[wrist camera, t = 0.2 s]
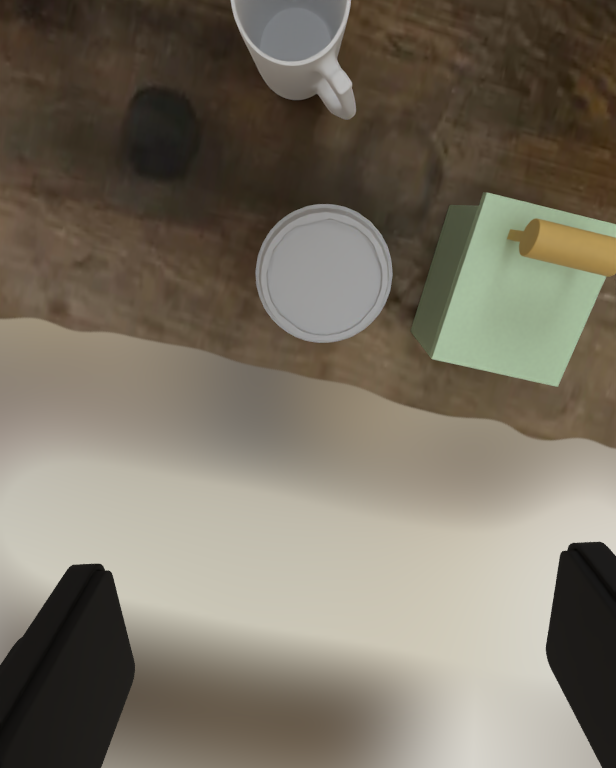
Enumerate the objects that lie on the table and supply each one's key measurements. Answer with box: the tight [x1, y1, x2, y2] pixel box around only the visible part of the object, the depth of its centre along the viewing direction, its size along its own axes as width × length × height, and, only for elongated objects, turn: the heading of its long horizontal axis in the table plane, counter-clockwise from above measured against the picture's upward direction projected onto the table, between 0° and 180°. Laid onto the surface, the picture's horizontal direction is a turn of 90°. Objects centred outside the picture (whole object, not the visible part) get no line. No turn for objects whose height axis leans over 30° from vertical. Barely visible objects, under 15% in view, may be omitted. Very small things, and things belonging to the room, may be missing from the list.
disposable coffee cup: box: [256, 204, 393, 343], centre depth 38 cm, size 10×10×12 cm
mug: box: [231, 0, 356, 120], centre depth 33 cm, size 10×7×12 cm, turn 37°
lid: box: [430, 193, 616, 387], centre depth 34 cm, size 12×11×6 cm
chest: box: [411, 205, 479, 356], centre depth 41 cm, size 12×11×8 cm
